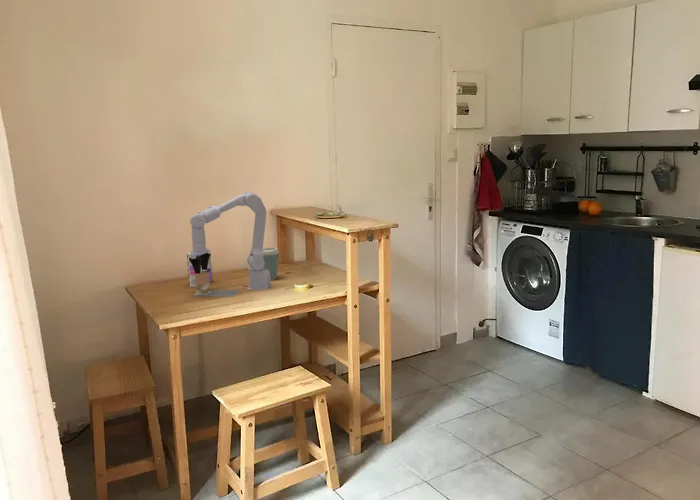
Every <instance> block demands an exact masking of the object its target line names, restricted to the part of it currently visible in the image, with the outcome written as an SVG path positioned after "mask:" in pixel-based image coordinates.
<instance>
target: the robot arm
mask: <svg viewBox="0 0 700 500" xmlns="http://www.w3.org/2000/svg"><path fill="white" fill-rule="evenodd" d="M238 206H239V207H241V206H242V207H245V206H246V207H248V208H249V209H251V211H252V212H253V213H254V215H255V216H254V225H253V233H252V242H251V243H252V244H251V248H250V251H249V255H248V257H247V260H246V261H247V264H248V265H249V267H248V270H247V271H248V283H249V285H248V287H247V288H246V290H267V289H269V288H271V286H272V283H271V280H270V271H269V270H266V269H264V265H265V262H264V259H263V249H264V240H265V230H266V222H267V209H266V206H265V204H264V203H263V200H262V198H261V197H260V196H259V195H258V194H256V193H253V192H250V191H247V192H245V193H242V194H239V195H237V196H234V197H233V198H230V200H227V201H226V202H224V203H222V204H220V205H218V206H216V205H209V206H207V208H206V209H204V210H202V211H201V210H199V211H198V213H195V214H193V215H192V216H191V217H190V219H189V224H191V228H190V229H191V242H192V250H190V253H192V254H191V258H189V261H190V262H191V264H192V266H193V268H194V272H195V274H200V272H201V267H202V270H207V267H208V261H209V258H210V256H211V255H212V253H211V252H210V253H208V249H209V248H208V247H207V242H206V241H207V240H206V231H205V225H206V224H209V223H211V222H212V221H215V220H217V219H219V218H220V217H221V216H222V215H221V214H223V213H224V212H227V211H229V210H231V209H233V208H235V207H238ZM198 257H199V258H198ZM211 257H212V256H211Z"/></svg>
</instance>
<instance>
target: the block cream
mask: <svg viewBox="0 0 700 500" xmlns="http://www.w3.org/2000/svg"><path fill="white" fill-rule="evenodd" d="M195 285H196V287H195V294H207V293H209V292H210V290H211V289H210V282H209V283H207V284H195Z"/></svg>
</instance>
